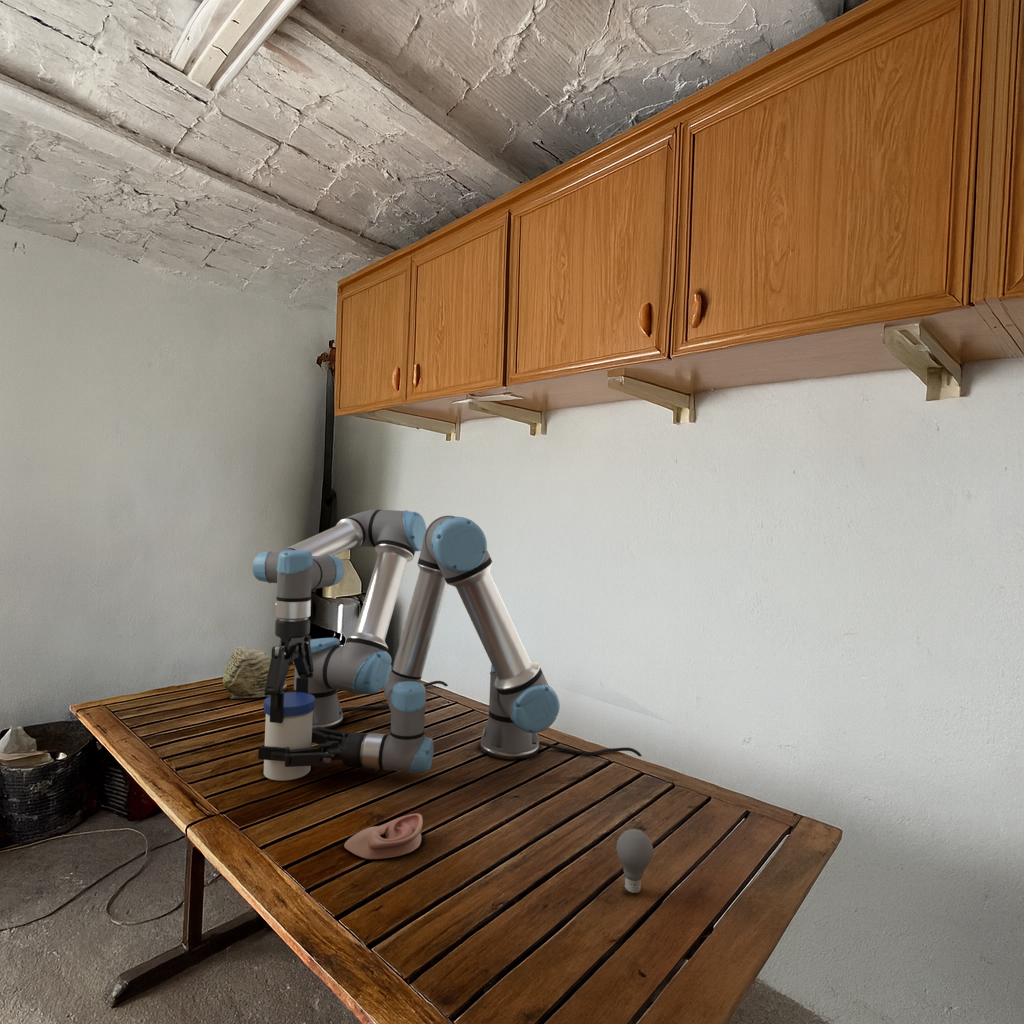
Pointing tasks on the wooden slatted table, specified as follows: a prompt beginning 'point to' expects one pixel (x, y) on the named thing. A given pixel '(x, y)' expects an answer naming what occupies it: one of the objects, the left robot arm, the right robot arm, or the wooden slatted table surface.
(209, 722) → the wooden slatted table surface
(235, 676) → the fossil
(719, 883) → the wooden slatted table surface
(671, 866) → the wooden slatted table surface
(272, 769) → the jar
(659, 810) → the wooden slatted table surface
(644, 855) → the light bulb
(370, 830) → the anatomical model
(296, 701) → the lid
